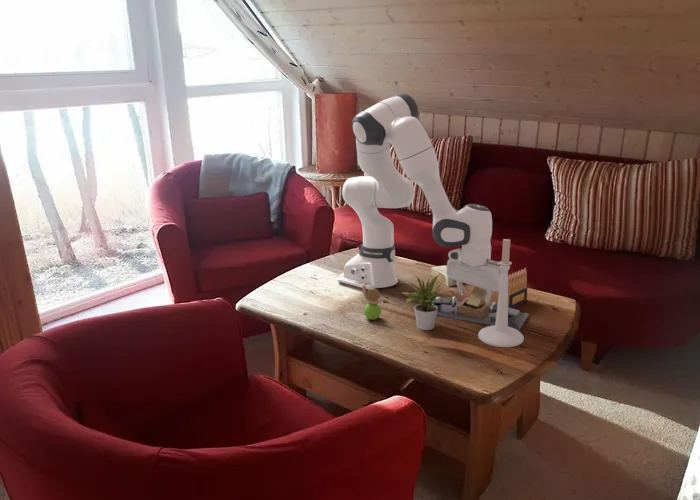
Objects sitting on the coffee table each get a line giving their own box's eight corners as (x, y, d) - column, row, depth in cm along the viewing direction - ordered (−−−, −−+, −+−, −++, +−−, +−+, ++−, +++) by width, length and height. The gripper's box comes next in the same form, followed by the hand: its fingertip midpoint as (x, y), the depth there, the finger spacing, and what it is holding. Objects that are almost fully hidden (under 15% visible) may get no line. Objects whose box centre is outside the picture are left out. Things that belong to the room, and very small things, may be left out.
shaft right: (520, 319, 178) (521, 306, 176) (514, 323, 175) (515, 310, 174) (493, 312, 183) (494, 300, 182) (487, 316, 181) (488, 303, 180)
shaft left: (427, 308, 188) (427, 296, 187) (429, 304, 191) (429, 292, 190) (455, 311, 185) (455, 298, 184) (456, 307, 188) (457, 294, 187)
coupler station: (419, 311, 188) (419, 301, 187) (433, 299, 198) (433, 290, 197) (519, 330, 173) (520, 319, 172) (528, 316, 183) (529, 306, 182)
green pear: (365, 314, 187) (365, 278, 183) (384, 317, 184) (384, 281, 181) (358, 320, 182) (357, 284, 179) (376, 323, 179) (376, 287, 176)
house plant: (414, 312, 187) (415, 264, 183) (455, 320, 180) (457, 271, 176) (395, 328, 175) (395, 278, 171) (437, 338, 169) (439, 285, 164)
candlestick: (533, 339, 166) (541, 239, 158) (501, 351, 160) (508, 247, 151) (499, 324, 177) (505, 230, 168) (469, 335, 170) (473, 236, 162)
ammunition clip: (509, 310, 188) (511, 275, 185) (504, 308, 189) (506, 273, 186) (526, 301, 195) (529, 267, 191) (522, 300, 196) (524, 266, 193)
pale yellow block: (477, 306, 181) (490, 280, 184) (466, 303, 183) (479, 277, 186) (480, 312, 184) (493, 287, 187) (469, 309, 186) (482, 283, 189)
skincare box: (462, 285, 211) (445, 275, 222) (463, 274, 209) (446, 264, 220) (447, 288, 208) (430, 277, 219) (447, 276, 207) (431, 267, 218)
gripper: (510, 261, 174) (507, 304, 178) (456, 247, 189) (455, 287, 193) (498, 265, 170) (495, 309, 174) (444, 251, 185) (442, 292, 189)
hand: (474, 297), depth 184 cm, fingers open, 8 cm apart
